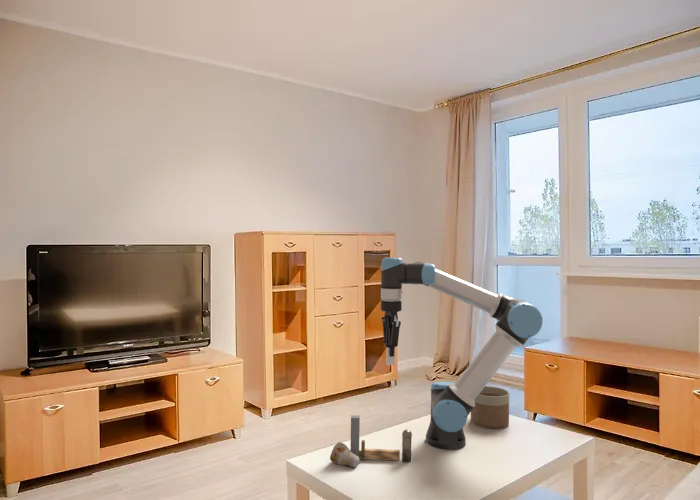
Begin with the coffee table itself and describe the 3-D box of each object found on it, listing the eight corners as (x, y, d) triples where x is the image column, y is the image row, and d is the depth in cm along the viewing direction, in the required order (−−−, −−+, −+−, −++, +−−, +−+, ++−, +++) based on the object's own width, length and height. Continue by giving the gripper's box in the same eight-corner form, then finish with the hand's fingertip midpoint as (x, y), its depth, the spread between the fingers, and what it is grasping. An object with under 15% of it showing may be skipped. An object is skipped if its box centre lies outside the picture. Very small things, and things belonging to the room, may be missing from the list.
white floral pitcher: (356, 472, 173) (341, 446, 173) (336, 478, 178) (321, 452, 178) (366, 459, 179) (352, 434, 179) (347, 465, 184) (333, 440, 185)
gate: (399, 458, 183) (399, 441, 183) (399, 460, 182) (399, 443, 181) (361, 456, 184) (361, 440, 184) (361, 458, 182) (361, 441, 182)
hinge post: (411, 458, 184) (411, 428, 184) (411, 462, 180) (412, 431, 180) (401, 458, 184) (401, 428, 184) (402, 462, 181) (402, 431, 180)
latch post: (368, 456, 185) (368, 415, 185) (367, 461, 181) (368, 418, 181) (350, 456, 185) (351, 414, 185) (350, 460, 182) (350, 417, 182)
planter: (502, 432, 211) (503, 398, 211) (465, 424, 220) (465, 392, 220) (513, 421, 224) (513, 389, 224) (477, 414, 233) (478, 384, 233)
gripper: (407, 301, 183) (407, 368, 183) (394, 297, 195) (393, 360, 195) (388, 302, 180) (387, 369, 181) (375, 298, 193) (374, 361, 193)
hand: (390, 364), depth 188 cm, fingers closed
